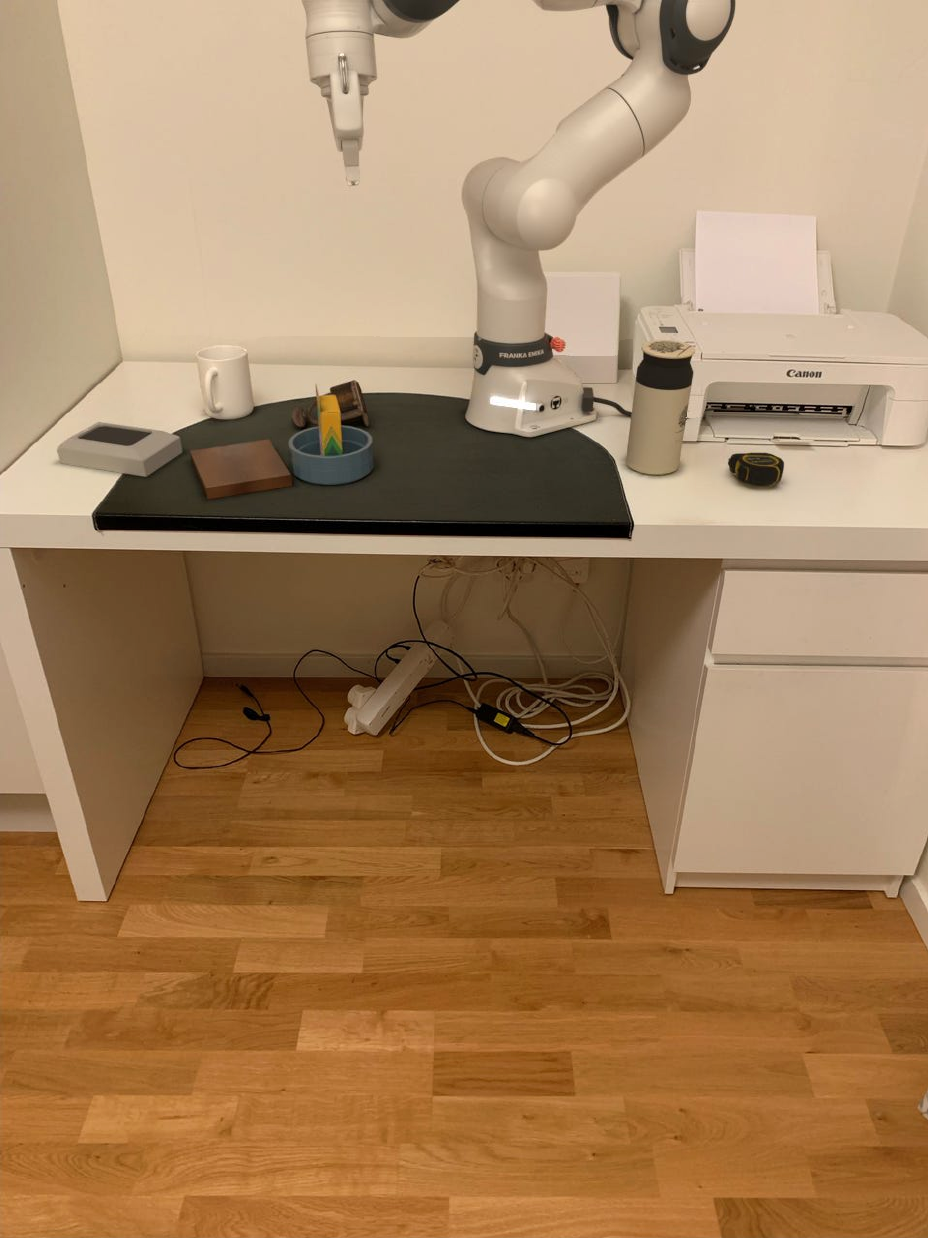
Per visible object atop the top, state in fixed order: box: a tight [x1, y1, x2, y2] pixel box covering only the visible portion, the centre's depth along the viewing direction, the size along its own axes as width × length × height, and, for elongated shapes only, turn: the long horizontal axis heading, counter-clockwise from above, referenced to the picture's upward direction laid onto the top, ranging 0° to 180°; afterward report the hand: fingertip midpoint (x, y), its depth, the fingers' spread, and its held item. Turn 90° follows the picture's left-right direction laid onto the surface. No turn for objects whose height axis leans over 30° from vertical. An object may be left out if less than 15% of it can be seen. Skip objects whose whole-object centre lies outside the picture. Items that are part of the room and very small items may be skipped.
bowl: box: [288, 424, 375, 486], centre depth 130 cm, size 12×12×4 cm
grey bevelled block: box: [56, 421, 183, 477], centre depth 132 cm, size 10×4×15 cm
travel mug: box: [625, 339, 696, 476], centre depth 128 cm, size 8×8×18 cm
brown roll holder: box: [291, 379, 370, 429], centre depth 144 cm, size 7×13×10 cm
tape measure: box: [727, 452, 785, 487], centre depth 128 cm, size 7×7×4 cm
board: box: [189, 439, 293, 500], centre depth 129 cm, size 12×14×2 cm
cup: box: [195, 344, 255, 420], centre depth 146 cm, size 8×12×10 cm
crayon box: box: [314, 383, 343, 456], centre depth 127 cm, size 7×3×12 cm, turn 12°
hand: (353, 183), depth 119 cm, fingers open, 8 cm apart
